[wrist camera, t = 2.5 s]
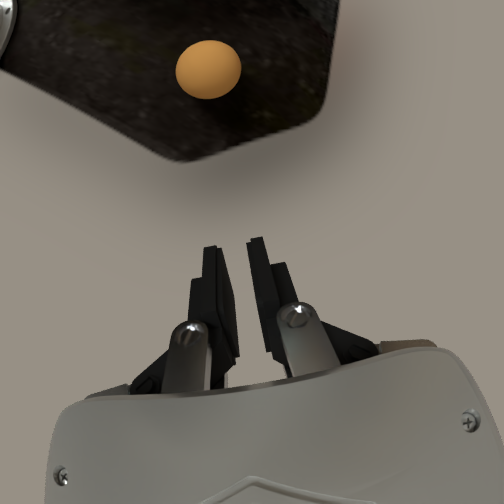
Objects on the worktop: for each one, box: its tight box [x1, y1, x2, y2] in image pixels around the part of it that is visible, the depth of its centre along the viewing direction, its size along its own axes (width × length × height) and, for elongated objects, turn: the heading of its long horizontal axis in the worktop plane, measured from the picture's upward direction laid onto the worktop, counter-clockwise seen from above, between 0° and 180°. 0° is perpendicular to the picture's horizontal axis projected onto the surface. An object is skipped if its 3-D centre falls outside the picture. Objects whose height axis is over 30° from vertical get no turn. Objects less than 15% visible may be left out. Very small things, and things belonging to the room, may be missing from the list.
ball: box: [176, 40, 241, 99], centre depth 17 cm, size 5×5×5 cm
